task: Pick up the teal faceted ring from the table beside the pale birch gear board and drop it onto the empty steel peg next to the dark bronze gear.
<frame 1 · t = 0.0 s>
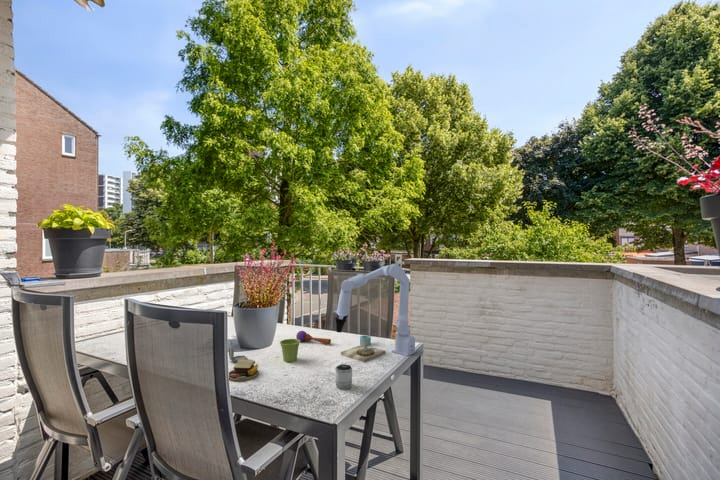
hand: (339, 330, 174), 11 cm above the table, tool pointing down, fingers open, 7 cm apart
kendama: (313, 343, 188), on the table
plant pot: (290, 360, 161), on the table
toy sandwich meal: (242, 376, 143), on the table
camera lens: (343, 387, 132), on the table
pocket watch: (236, 360, 160), on the table
gear board: (363, 354, 169), on the table
teal faceted ring: (365, 344, 185), on the table
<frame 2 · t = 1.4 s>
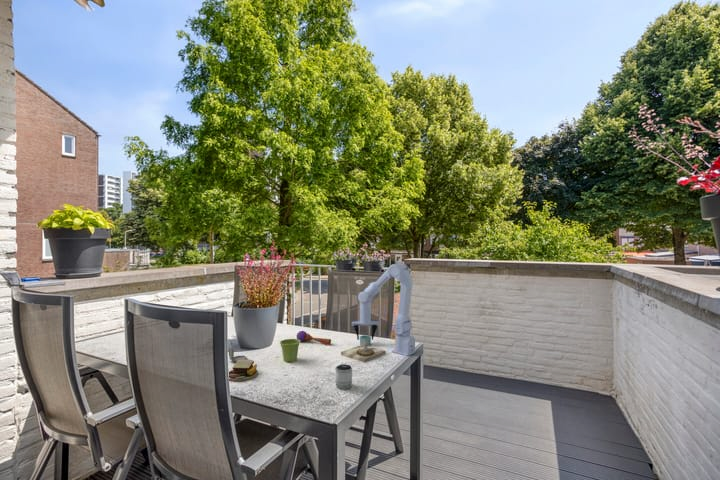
hand: (365, 339, 185), 3 cm above the table, tool pointing down, fingers open, 7 cm apart
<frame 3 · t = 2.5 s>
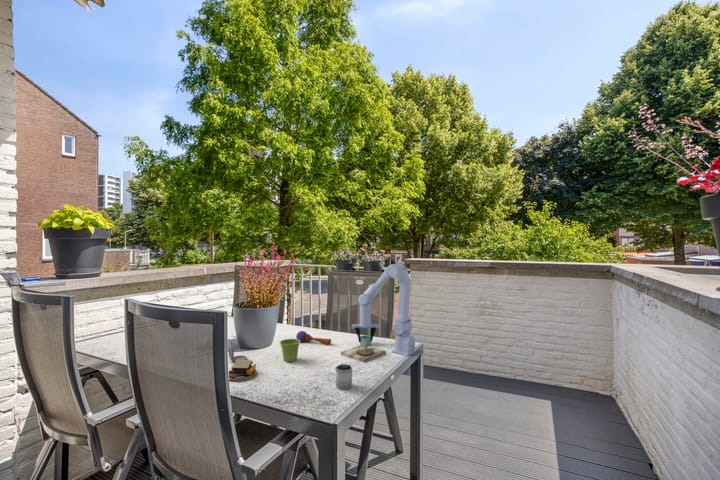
hand: (365, 341, 185), 1 cm above the table, tool pointing down, fingers closed on teal faceted ring, 6 cm apart
teal faceted ring: (365, 344, 185), on the table, touching gripper
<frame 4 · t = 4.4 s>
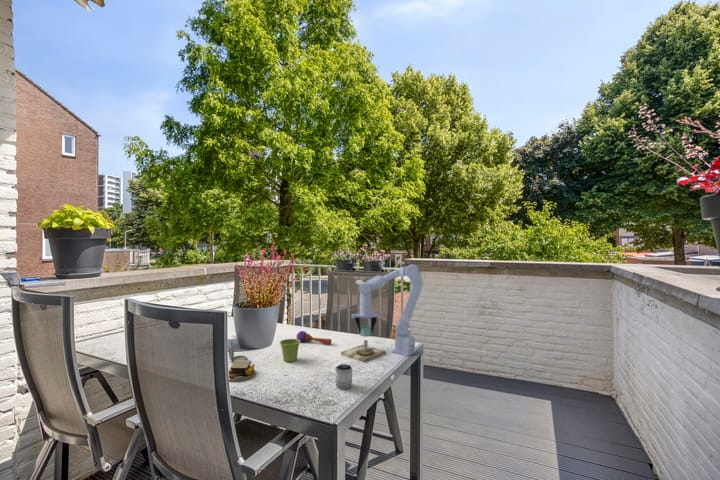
hand: (365, 332, 177), 9 cm above the table, tool pointing down, fingers closed on teal faceted ring, 6 cm apart
teal faceted ring: (365, 335, 177), point 7 cm above the table, touching gripper
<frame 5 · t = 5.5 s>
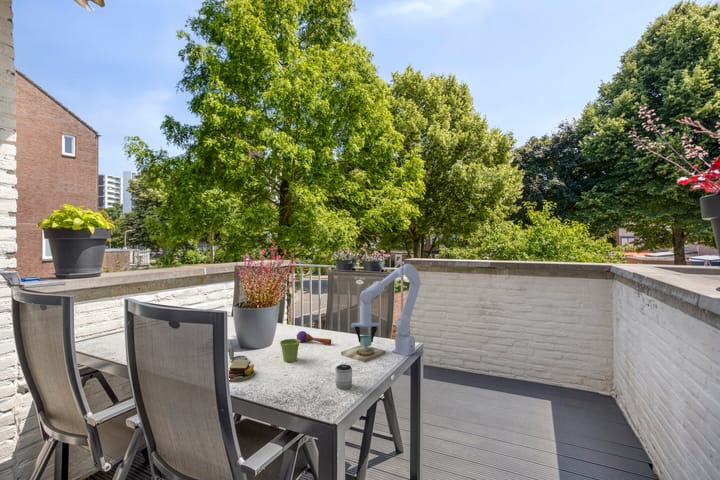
hand: (365, 341, 173), 5 cm above the table, tool pointing down, fingers closed on teal faceted ring, 6 cm apart
teal faceted ring: (365, 344, 173), point 3 cm above the table, touching gripper
when the fingers open (5 cm above the table, at t = 6.4 s): teal faceted ring drops 2 cm, resting on gear board.
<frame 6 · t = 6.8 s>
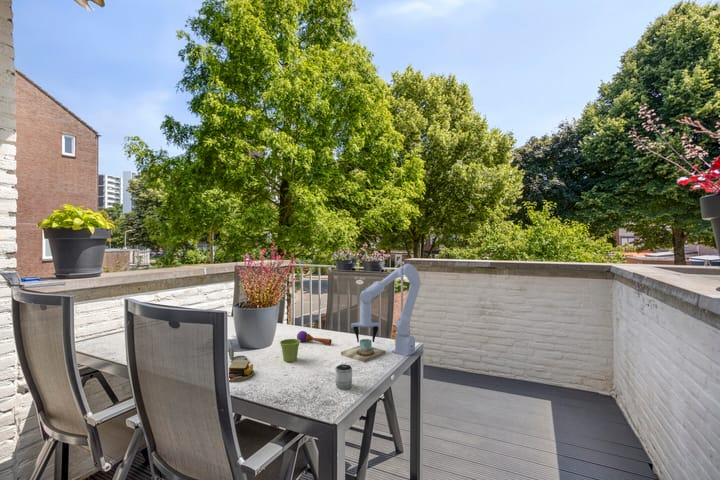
hand: (365, 341, 173), 5 cm above the table, tool pointing down, fingers open, 7 cm apart
teal faceted ring: (365, 348, 173), point 1 cm above the table, touching gear board
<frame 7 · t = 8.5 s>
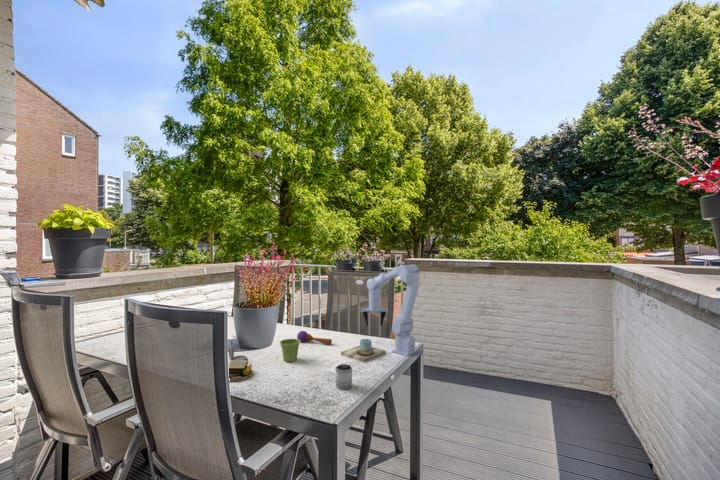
hand: (374, 325, 188), 9 cm above the table, tool pointing down, fingers open, 7 cm apart
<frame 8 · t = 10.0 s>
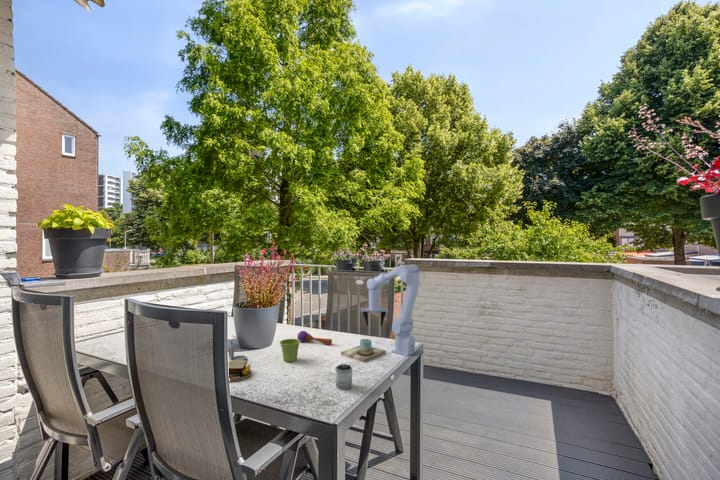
hand: (374, 325, 188), 9 cm above the table, tool pointing down, fingers open, 7 cm apart
at the end: teal faceted ring 0.0 cm from the target spot on the gear board, point 1.5 cm above the gear board's base; teal faceted ring tilted 0°; the gripper is holding nothing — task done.
